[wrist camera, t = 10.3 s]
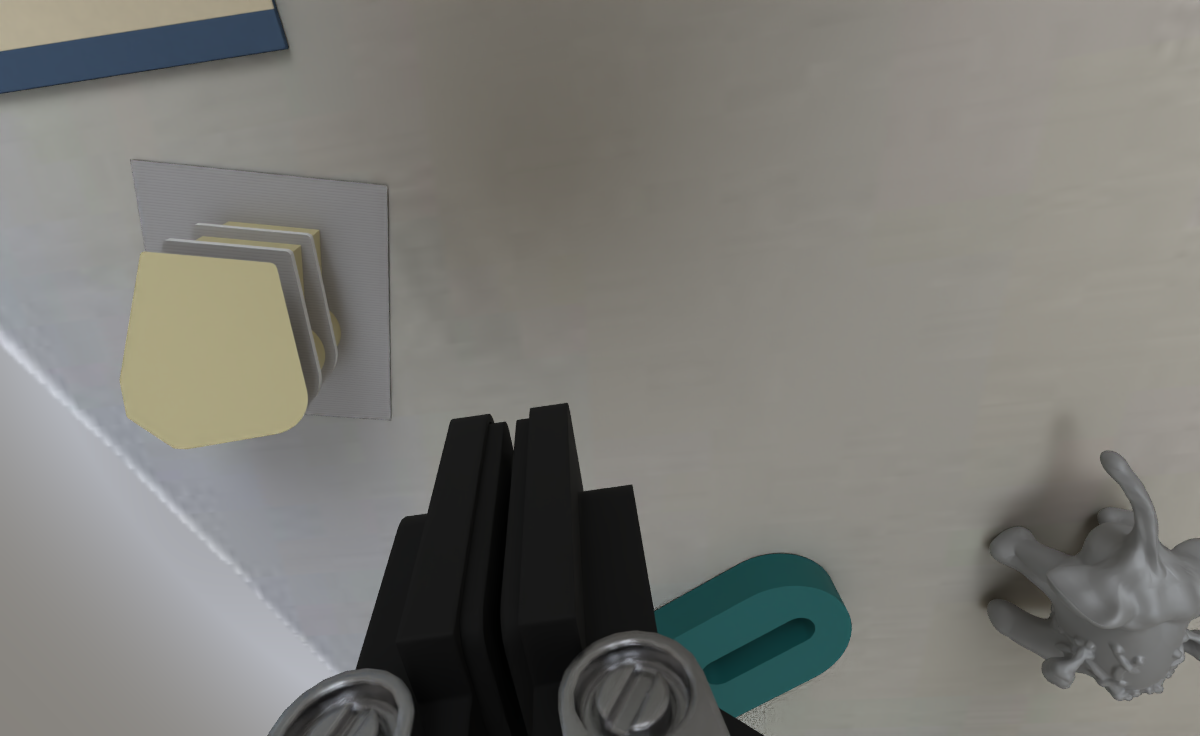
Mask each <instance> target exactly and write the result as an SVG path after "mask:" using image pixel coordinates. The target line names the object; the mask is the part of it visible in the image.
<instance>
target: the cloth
mask: <svg viewBox="0 0 1200 736" xmlns="http://www.w3.org/2000/svg"><path fill="white" fill-rule="evenodd" d="M288 48H289V47H288V44H287V41H286V37H285V34H284V31H283V28H282V24H281V21H280V18H279V14H278V11H277V8H276V5H275V1H274V0H0V94H2V93H8V92H14V91H21V90H27V89H34V88H40V87H47V86H53V85H59V84H66V83H72V82H79V81H85V80H91V79H98V78H104V77H111V76H117V75H124V74H130V73H136V72H143V71H149V70H156V69H162V68H169V67H175V66H181V65H188V64H194V63H201V62H207V61H214V60H220V59H226V58H233V57H239V56H246V55H252V54H259V53H265V52H271V51H278V50H284V49H288Z"/></svg>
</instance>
